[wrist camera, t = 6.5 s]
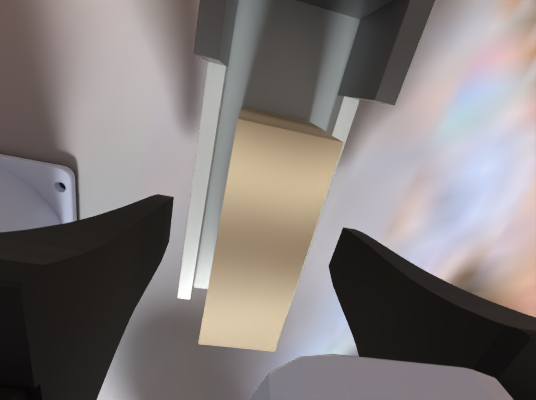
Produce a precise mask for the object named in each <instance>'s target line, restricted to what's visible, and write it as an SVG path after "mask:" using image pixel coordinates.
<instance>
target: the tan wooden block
mask: <svg viewBox="0 0 536 400" xmlns="http://www.w3.org/2000/svg"><path fill="white" fill-rule="evenodd" d="M343 143H344V142H342V141H340V140H339V139H337V138H335V137H334V136H332V135H331V134H329V133H327V132H326V131H324V130H323V129H321V128H319V127H318V126H316V125H314V124H313V123H311V122H310V121H306V120H301V119H297V118H293V117H288V116H284V115H280V114H275V113H271V112H267V111H262V110H258V109H254V108H249V107H245V106H242V107H241V110H240V114H239V117H238V121H237V126H236V132H235V138H234V143H233V149H232V155H231V160H230V166H229V172H228V177H227V183H226V189H225V194H224V200H223V206H222V211H221V217H220V223H219V228H218V234H217V240H216V245H215V251H214V256H213V262H212V268H211V273H210V279H209V285H208V290H207V296H206V302H205V307H204V313H203V319H202V324H201V330H200V336H199V341H198V344H202V345H212V346H222V347H232V348H242V349H252V350H262V351H272V352H275V349H276V346H277V343H278V340H279V337H280V334H281V331H282V328H283V325H284V322H285V319H286V316H287V313H288V310H289V307H290V304H291V301H292V298H293V295H294V292H295V289H296V286H297V283H298V279H299V276H300V273H301V270H302V267H303V264H304V261H305V258H306V255H307V252H308V249H309V246H310V243H311V240H312V237H313V234H314V231H315V228H316V225H317V222H318V219H319V216H320V213H321V210H322V207H323V204H324V201H325V198H326V195H327V192H328V189H329V185H330V182H331V179H332V176H333V173H334V170H335V167H336V164H337V161H338V158H339V155H340V152H341V149H342V146H343Z"/></svg>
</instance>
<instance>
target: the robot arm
mask: <svg viewBox="0 0 536 400" xmlns="http://www.w3.org/2000/svg"><path fill="white" fill-rule="evenodd" d="M60 182H61V183H63V184H64V185H65V187H66V189H63V188H62V187H61V186H60V184H59V183H60ZM173 199H174V197H170V196H164V195H159V194H157V195H153V196H150V197H148V198H145V199H143V200H140V201H137V202H135V203H132V204H130V205H127V206H124V207H121V208H118V209H115V210H112V211H109V212H106V213H103V214H100V215H97V216H93V217H90V218H86V219H82V220H77V214H76V190H75V176H74V173H73V171H72V170H71V169H69V168H68V167H66V166H63V165H57V164H52V163H46V162H41V161H36V160H30V159H25V158H19V157H14V156H9V155H3V154H0V400H97V397H98V394H99V392H100V389H101V387H102V384H103V382H104V379H105V377H106V374H107V372H108V369H109V367H110V364H111V362H112V360H113V357H114V355H115V352H116V350H117V347H118V345H119V343H120V340H121V338H122V336H123V333H124V331H125V329H126V326H127V324H128V322H129V319H130V317H131V315H132V313H133V311H134V309H135V307H136V306H137V304H138V302H139V300H140V298H141V297H142V295H143V293H144V291H145V290H146V288H147V286H148V284H149V283H150V281H151V279H152V277H153V275H154V274H155V272H156V270H157V268H158V266H159V265H160V263H161V261H162V258H163V256H164V253H165V251H166V248H167V245H168V243H169V237H170V227H171V218H172V208H173ZM329 270H330V274H331V279H332V283H333V287H334V289H335V292H336V295H337V297H338V300H339V302H340V305H341V307H342V310H343V312H344V315H345V317H346V320H347V322H348V325H349V327H350V330H351V332H352V335H353V338H354V341H355V343H356V347H357V350H358V354H359V357H357V356H347V355H337V354H327V355H316V356H304V357H299V358H297V359H295V360H293V361H291V362H289V363H287V364H285V365H283V366H281V367H279V368H277V369H274V370H273V371H272V372H270V373H269V374H268V376H267V377H266V378H265V380H264V381H263V382H262V383H261V385H260V386H259V387H258V389H257V390H256V391H255V393H254V394H253V395H252V398H251V400H536V317H532V316H529V315H526V314H523V313H520V312H518V311H515V310H512V309H509V308H507V307H504V306H501V305H498V304H496V303H493V302H491V301H488V300H486V299H483V298H481V297H478V296H476V295H474V294H472V293H469V292H467V291H465V290H462V289H460V288H458V287H456V286H454V285H452V284H449V283H447V282H445V281H443V280H442V279H440V278H438V277H436V276H434V275H432V274H430V273H428V272H426V271H424V270H423V269H421V268H419V267H417V266H416V265H414V264H412V263H411V262H409V261H407V260H406V259H404V258H402V257H401V256H399V255H398V254H396V253H394V252H393V251H391V250H390V249H388V248H387V247H385V246H384V245H382V244H381V243H379V242H377V241H376V240H374V239H373V238H371V237H369V236H368V235H366V234H364V233H362V232H360V231H358V230H355V229H349V228H343V229H342V232H341V235H340V237H339V240H338V243H337V245H336V248H335V251H334V253H333V256H332V259H331V261H330V264H329Z"/></svg>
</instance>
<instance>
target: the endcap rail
mask: <svg viewBox="0 0 536 400" xmlns="http://www.w3.org/2000/svg"><path fill="white" fill-rule="evenodd" d="M434 1H435V0H200V4H199V13H198V21H197V30H196V39H195V48H194V54H195V55H197V56H199V57H201V58H203V59H204V60H206V61H208V67H207V75H206V82H205V90H204V98H203V105H202V113H201V121H200V128H199V136H198V143H197V151H196V159H195V166H194V174H193V182H192V189H191V197H190V205H189V212H188V220H187V228H186V235H185V243H184V251H183V258H182V266H181V274H180V281H179V289H178V297H177V298H181V299H189V300H190V298H191V295H192V291H193V287H195V288H202V289H208V285H209V279H210V273H211V268H212V262H213V256H214V251H215V245H216V240H217V234H218V228H219V223H220V217H221V211H222V206H223V200H224V194H225V189H226V183H227V177H228V172H229V166H230V160H231V155H232V149H233V143H234V138H235V132H236V126H237V121H238V117H239V114H240V110H241V107H242V106H245V107H249V108H254V109H258V110H262V111H267V112H271V113H275V114H280V115H284V116H288V117H293V118H297V119H301V120H306V121H310V122H311V123H313V124H314V125H316V126H318V127H319V128H321V129H323V130H324V131H326V132H327V133H329V134H331V135H332V136H334V137H335V138H337V139H339V140H340V141H342V142H344V143H343V146H342V149H341V152H340V155H339V158H338V161H337V164H336V167H335V170H334V173H333V176H332V179H331V182H330V185H329V189H328V192H327V195H326V198H325V201H324V204H323V207H322V210H321V213H320V216H319V219H318V222H317V225H316V228H315V231H314V234H313V237H312V240H311V243H310V246H309V249H308V252H307V255H306V258H305V261H304V264H305V262H306V259H307V256H308V253H309V250H310V247H311V244H312V241H313V238H314V235H315V232H316V229H317V226H318V223H319V220H320V217H321V214H322V211H323V208H324V205H325V202H326V199H327V196H328V193H329V190H330V187H331V184H332V181H333V178H334V175H335V172H336V169H337V166H338V163H339V160H340V157H341V154H342V151H343V148H344V145H345V143H346V140H347V137H348V134H349V131H350V128H351V125H352V122H353V119H354V116H355V113H356V110H357V107H358V104H359V101H360V100H362V101H369V102H376V103H382V104H389V105H395V103H396V100H397V98H398V95H399V92H400V90H401V87H402V85H403V82H404V79H405V77H406V74H407V72H408V69H409V66H410V64H411V61H412V59H413V56H414V53H415V51H416V48H417V46H418V43H419V40H420V38H421V35H422V33H423V30H424V27H425V25H426V22H427V19H428V17H429V14H430V12H431V9H432V6H433V4H434ZM304 264H303V267H304ZM303 267H302V270H303ZM302 270H301V273H302ZM301 273H300V276H301ZM300 276H299V279H300ZM299 279H298V282H299ZM297 285H298V283H297ZM296 288H297V286H296ZM295 291H296V289H295ZM294 294H295V292H294ZM293 297H294V295H293ZM292 300H293V298H292ZM291 303H292V301H291ZM290 306H291V304H290ZM289 309H290V307H289ZM288 312H289V310H288Z"/></svg>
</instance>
